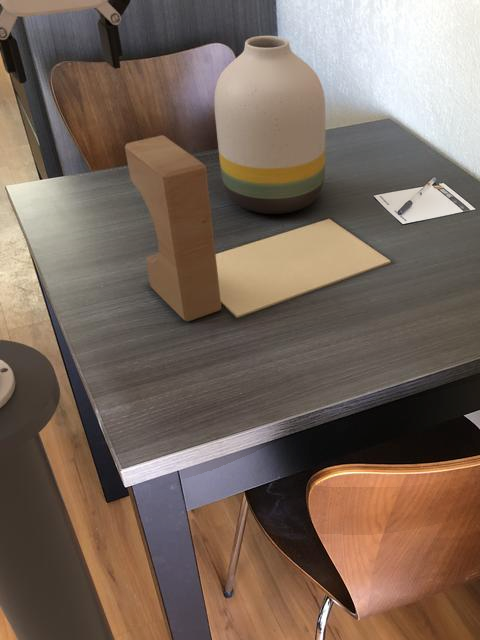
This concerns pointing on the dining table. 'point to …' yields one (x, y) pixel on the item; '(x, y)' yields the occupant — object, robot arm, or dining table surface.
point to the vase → (270, 128)
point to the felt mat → (291, 266)
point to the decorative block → (177, 225)
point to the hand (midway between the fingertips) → (67, 72)
